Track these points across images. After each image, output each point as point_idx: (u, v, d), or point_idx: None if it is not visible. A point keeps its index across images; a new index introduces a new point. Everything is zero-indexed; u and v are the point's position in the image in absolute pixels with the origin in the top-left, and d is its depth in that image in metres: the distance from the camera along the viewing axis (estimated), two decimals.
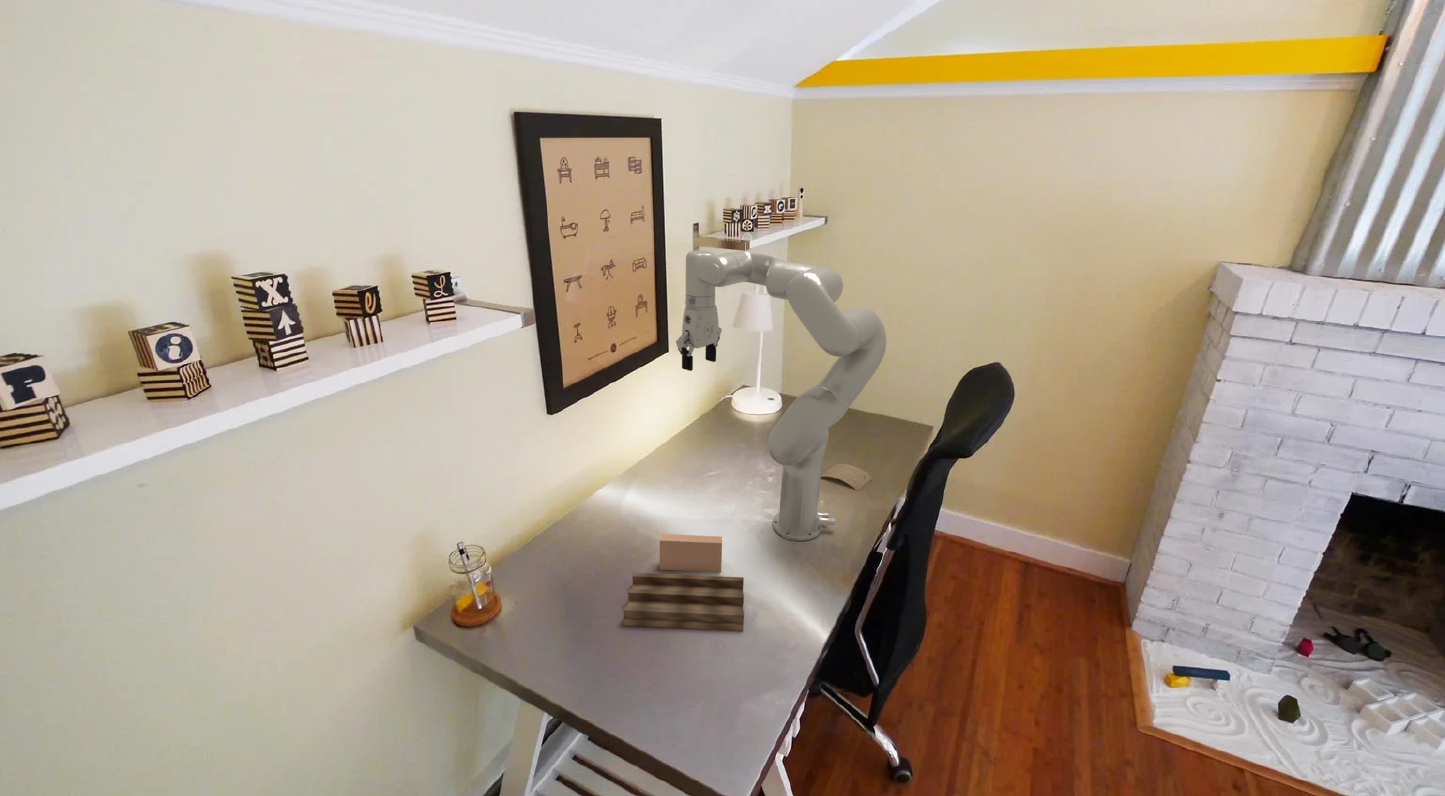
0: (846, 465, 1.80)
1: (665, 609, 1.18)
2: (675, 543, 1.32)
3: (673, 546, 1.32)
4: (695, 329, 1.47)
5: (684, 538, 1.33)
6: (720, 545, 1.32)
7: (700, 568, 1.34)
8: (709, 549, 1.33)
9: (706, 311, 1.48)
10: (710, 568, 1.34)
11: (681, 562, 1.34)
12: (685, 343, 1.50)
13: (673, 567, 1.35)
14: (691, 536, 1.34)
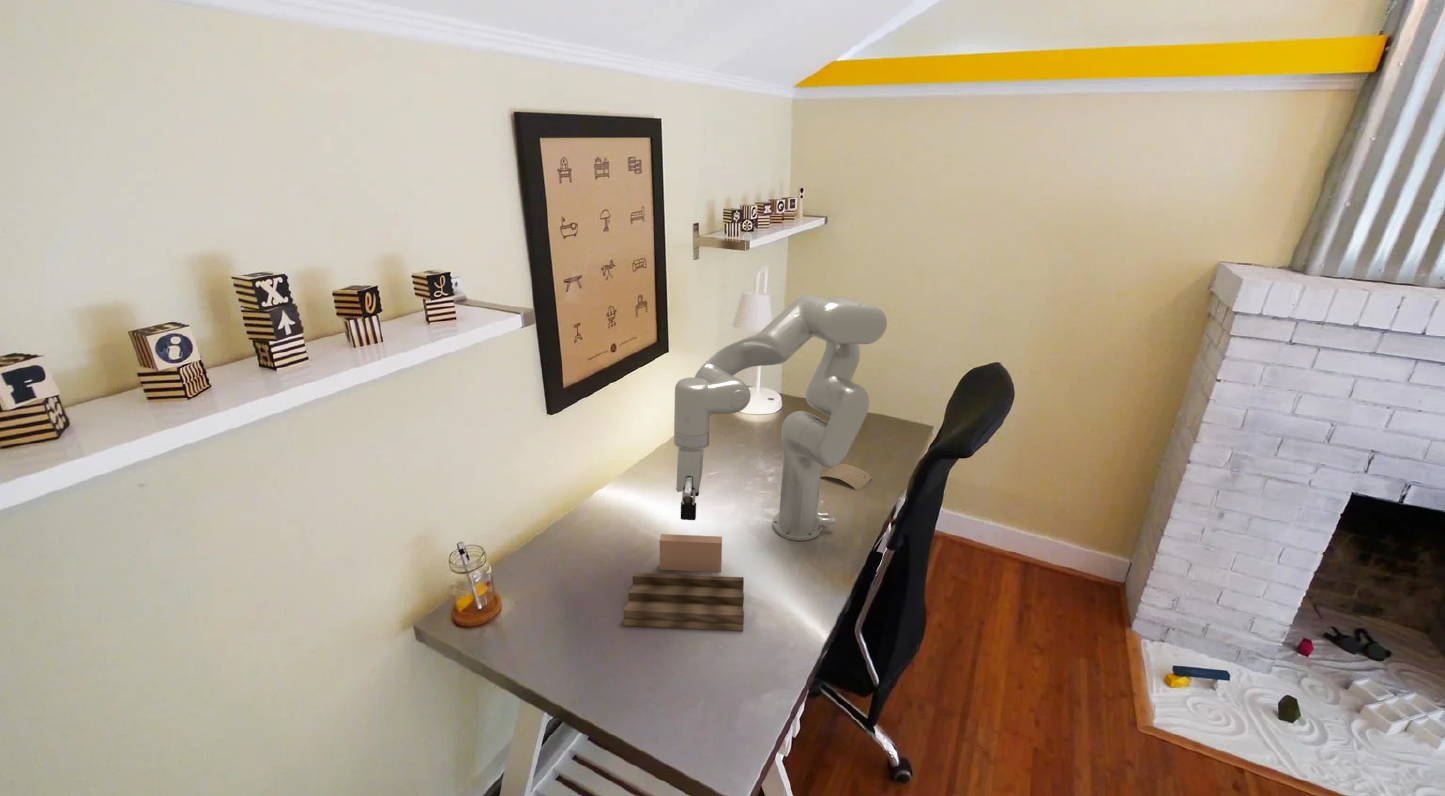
0: (846, 465, 1.80)
1: (665, 609, 1.18)
2: (675, 543, 1.32)
3: (673, 546, 1.32)
4: None
5: (684, 538, 1.33)
6: (720, 545, 1.32)
7: (700, 568, 1.34)
8: (709, 549, 1.32)
9: None
10: (710, 568, 1.34)
11: (681, 562, 1.34)
12: None
13: (673, 567, 1.35)
14: (691, 536, 1.34)
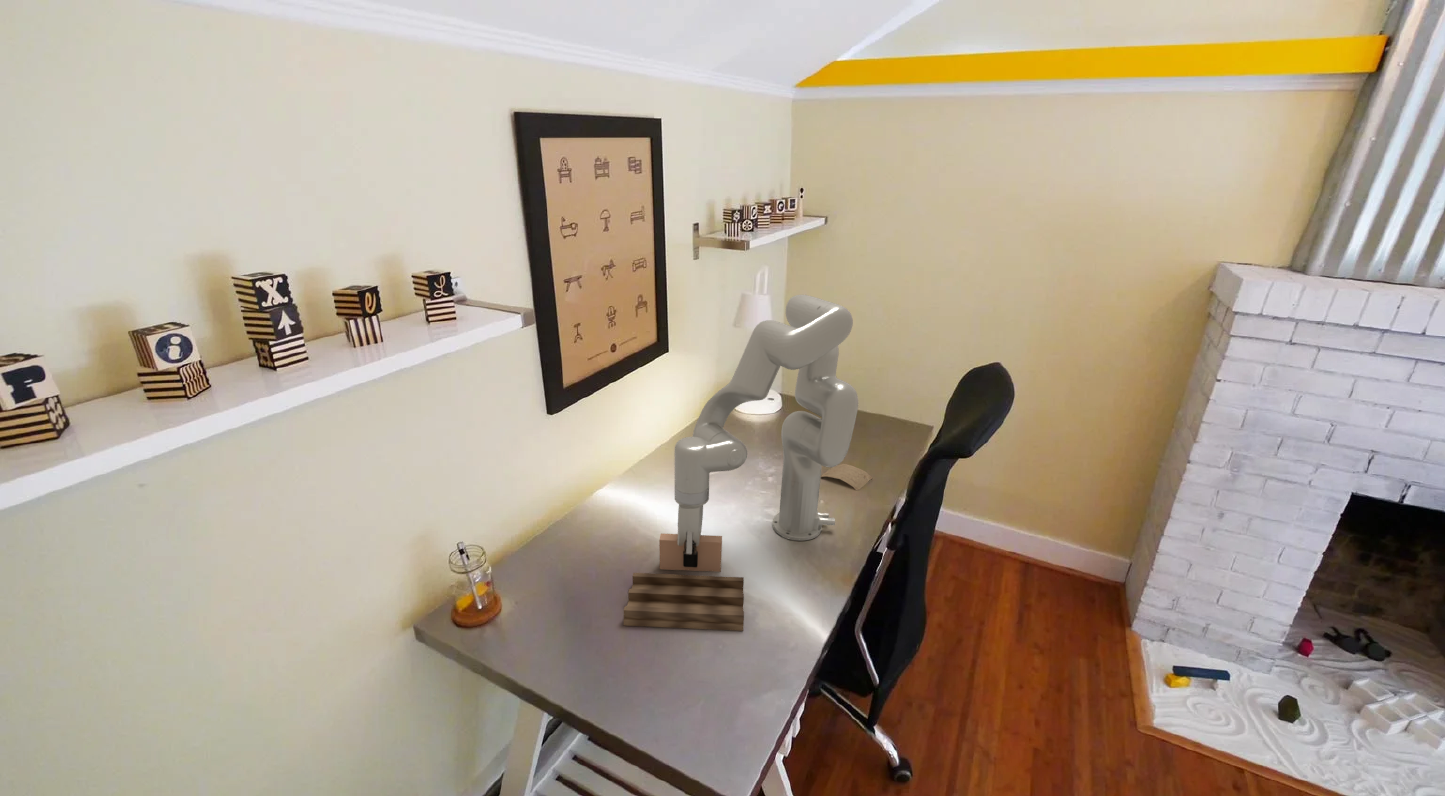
0: (846, 465, 1.80)
1: (665, 609, 1.18)
2: (675, 543, 1.32)
3: (673, 545, 1.32)
4: None
5: None
6: (720, 544, 1.32)
7: (700, 567, 1.34)
8: (709, 549, 1.32)
9: None
10: (710, 567, 1.34)
11: (681, 562, 1.34)
12: None
13: (673, 566, 1.35)
14: None
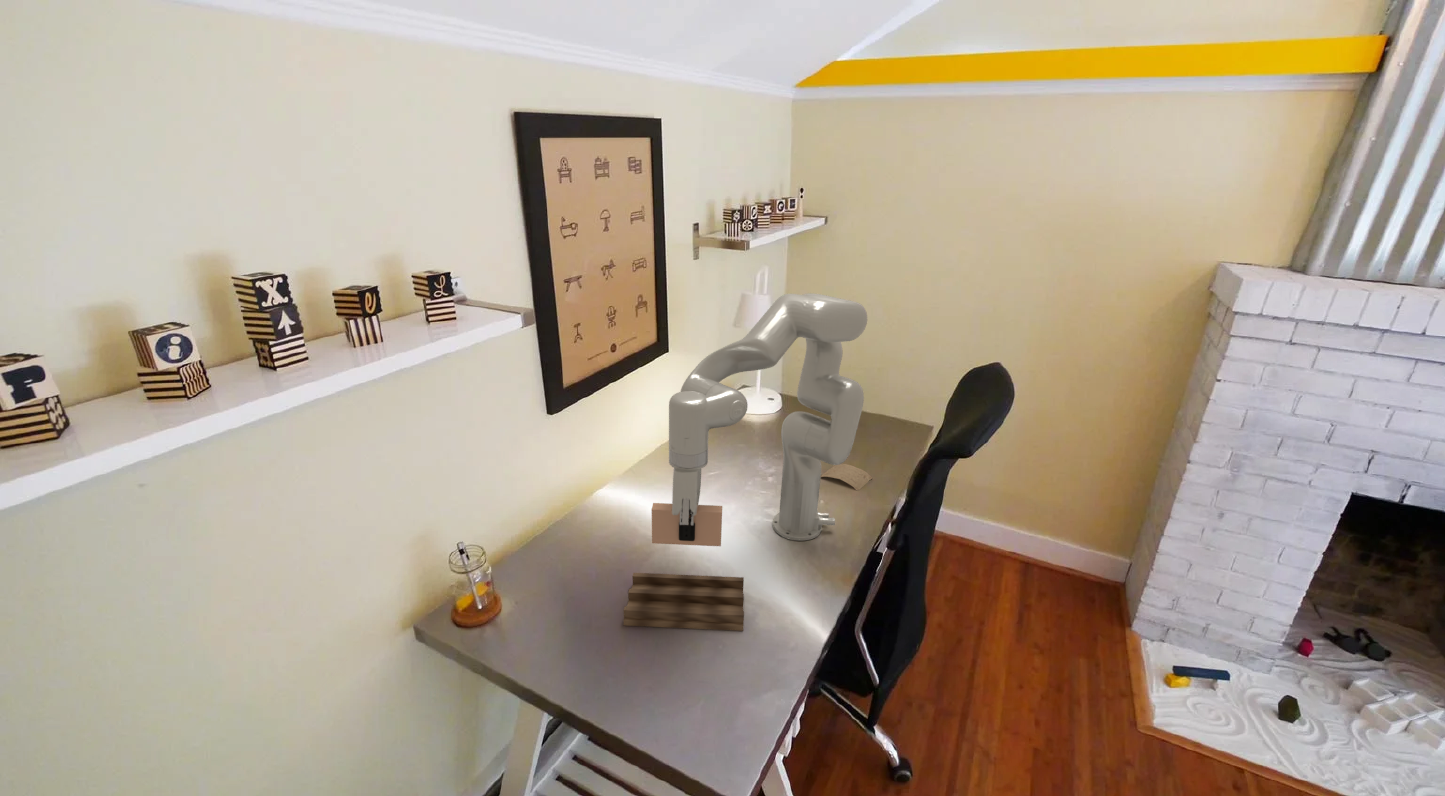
0: (846, 465, 1.80)
1: (665, 609, 1.18)
2: (669, 513, 1.17)
3: (667, 516, 1.17)
4: None
5: None
6: (720, 515, 1.17)
7: (698, 541, 1.19)
8: (707, 520, 1.17)
9: None
10: (708, 541, 1.19)
11: (676, 535, 1.19)
12: None
13: (667, 540, 1.19)
14: None
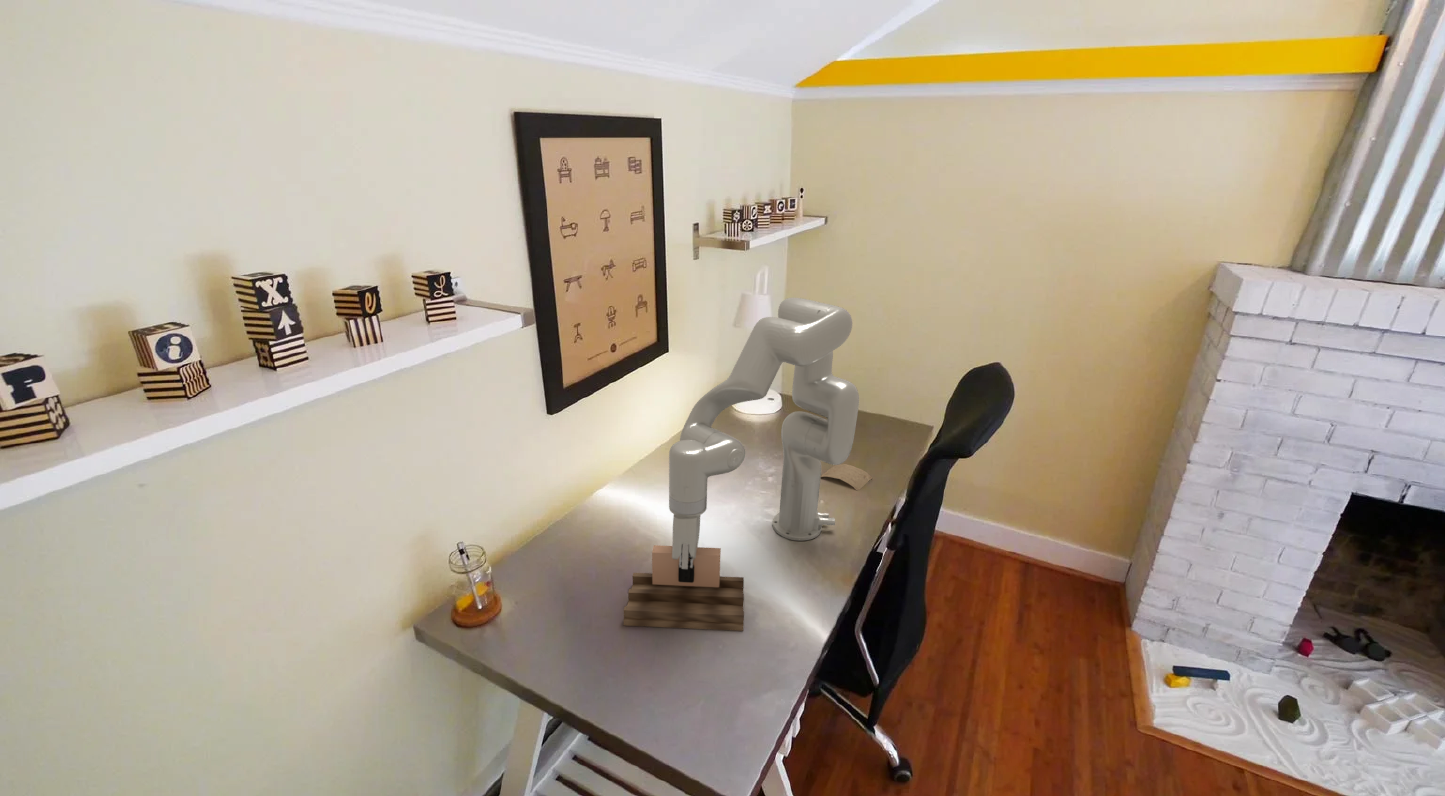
0: (846, 465, 1.80)
1: (665, 609, 1.18)
2: (669, 556, 1.21)
3: (667, 558, 1.21)
4: None
5: None
6: (718, 558, 1.21)
7: (697, 583, 1.23)
8: (706, 562, 1.21)
9: None
10: (707, 583, 1.23)
11: (676, 576, 1.23)
12: None
13: (667, 581, 1.23)
14: None
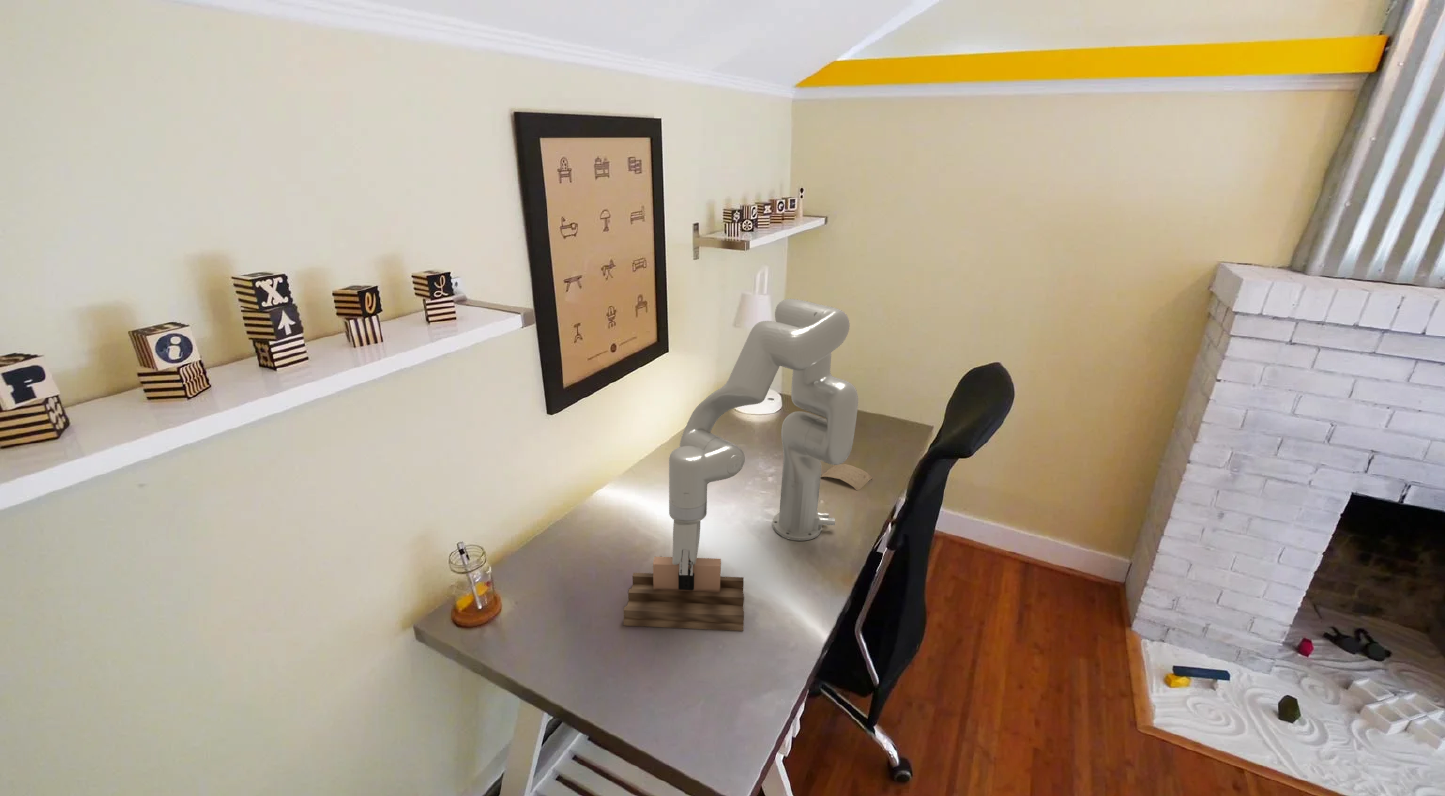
0: (846, 465, 1.80)
1: (665, 609, 1.18)
2: (670, 567, 1.22)
3: (667, 570, 1.22)
4: None
5: None
6: (719, 568, 1.22)
7: None
8: (707, 573, 1.22)
9: None
10: None
11: (677, 587, 1.24)
12: None
13: None
14: None
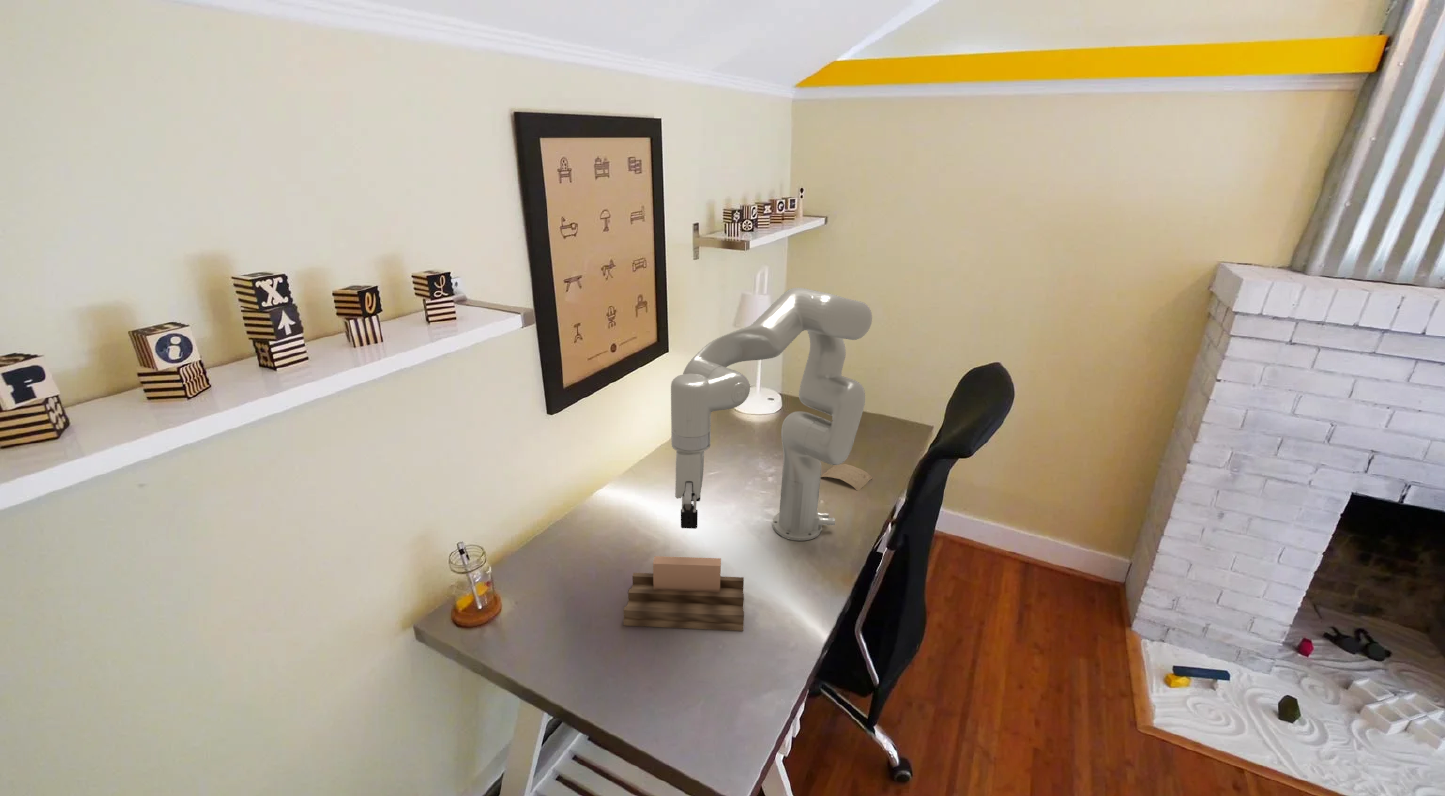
0: (846, 465, 1.80)
1: (665, 609, 1.18)
2: (670, 566, 1.22)
3: (668, 569, 1.22)
4: None
5: (679, 560, 1.23)
6: (719, 568, 1.22)
7: None
8: (707, 573, 1.22)
9: None
10: None
11: (677, 587, 1.24)
12: None
13: None
14: (687, 558, 1.24)
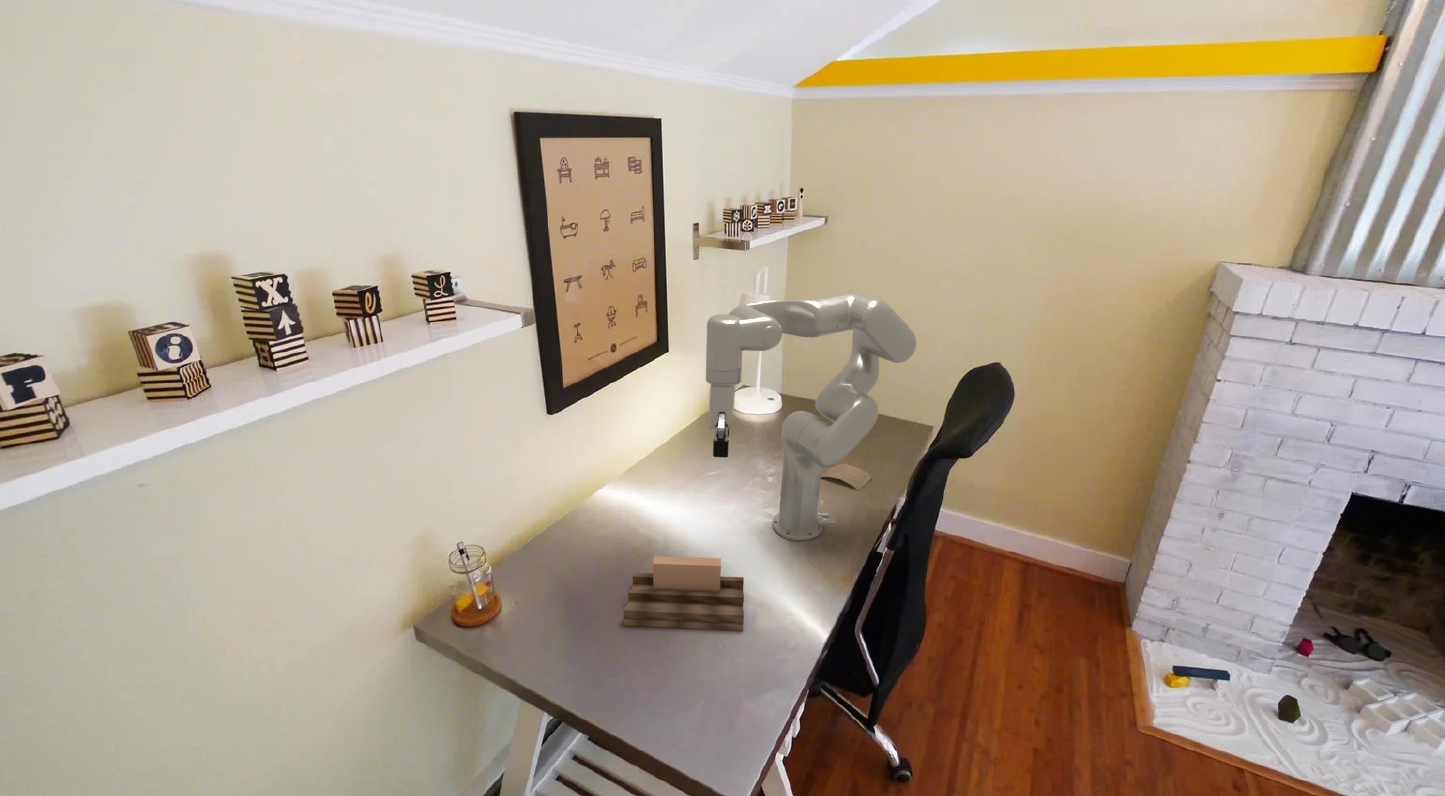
0: (846, 465, 1.80)
1: (665, 609, 1.18)
2: (670, 566, 1.22)
3: (668, 569, 1.22)
4: None
5: (679, 560, 1.23)
6: (719, 568, 1.22)
7: None
8: (707, 573, 1.22)
9: None
10: None
11: (677, 587, 1.24)
12: None
13: None
14: (687, 558, 1.24)
